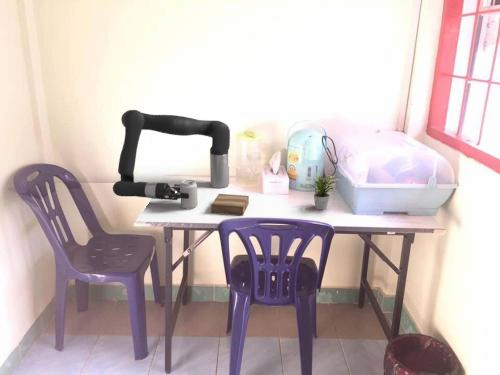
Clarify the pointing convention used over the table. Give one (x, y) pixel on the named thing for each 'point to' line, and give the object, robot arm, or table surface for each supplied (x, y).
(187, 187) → the can
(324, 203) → the house plant
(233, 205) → the plinth
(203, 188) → the table surface
